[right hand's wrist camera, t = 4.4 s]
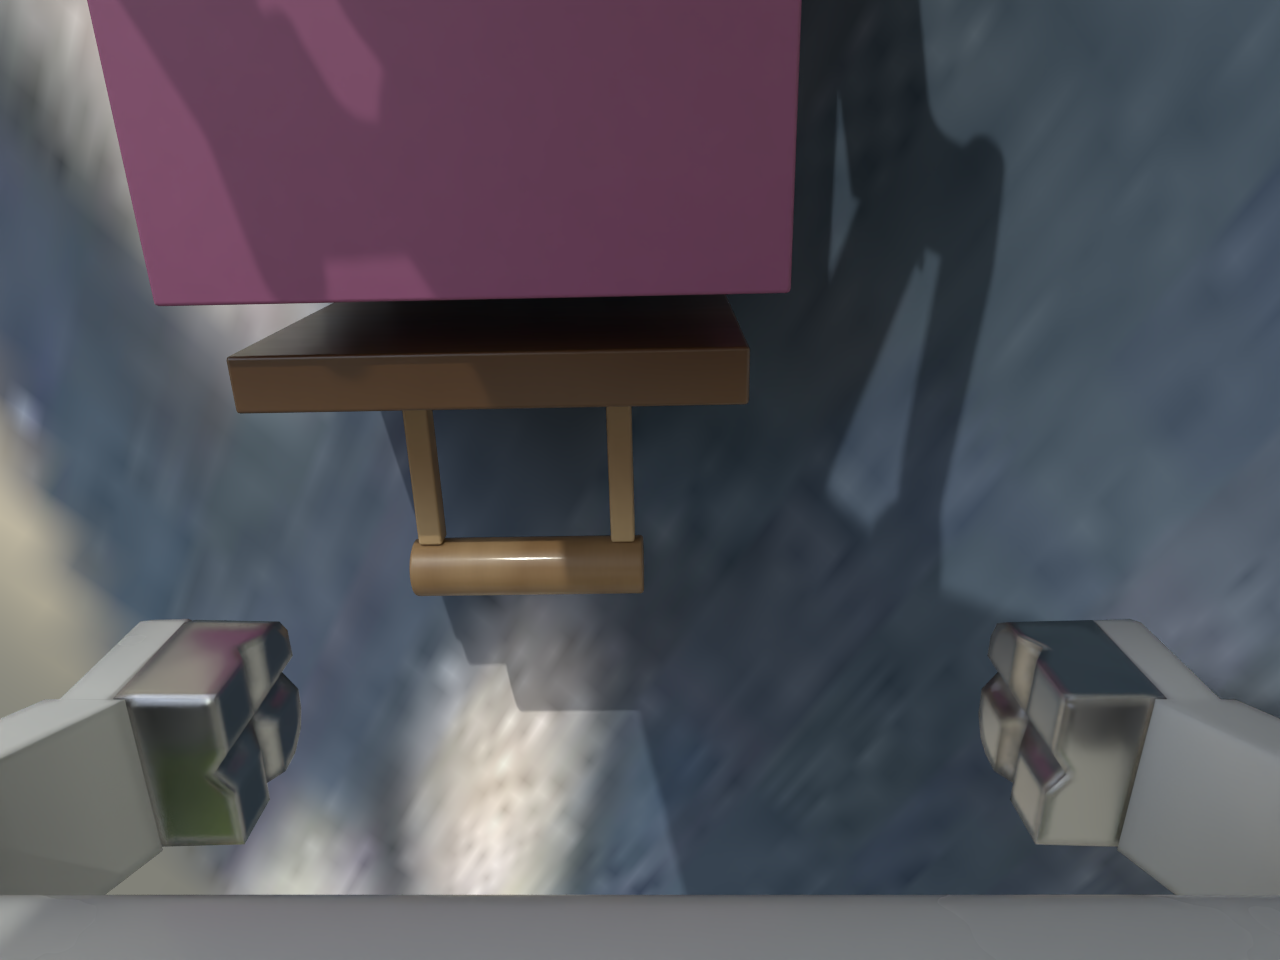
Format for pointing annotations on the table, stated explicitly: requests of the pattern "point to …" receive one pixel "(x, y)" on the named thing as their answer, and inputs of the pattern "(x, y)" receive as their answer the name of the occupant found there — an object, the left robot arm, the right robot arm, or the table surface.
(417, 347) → the drawer
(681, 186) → the cabinet
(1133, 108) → the table surface
